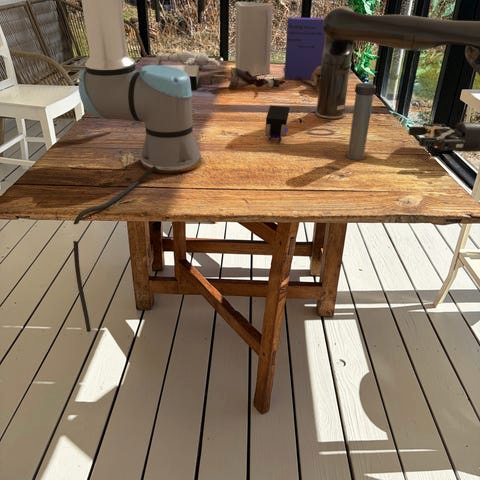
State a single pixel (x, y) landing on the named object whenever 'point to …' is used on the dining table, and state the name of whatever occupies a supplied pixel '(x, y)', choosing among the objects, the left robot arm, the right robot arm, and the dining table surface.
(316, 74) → the anatomical model
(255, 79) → the figurine
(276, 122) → the figurine character
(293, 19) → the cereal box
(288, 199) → the dining table surface
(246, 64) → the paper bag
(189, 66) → the disc drive
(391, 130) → the dining table surface
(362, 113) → the grey cylinder
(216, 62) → the toy
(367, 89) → the lid
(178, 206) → the dining table surface
